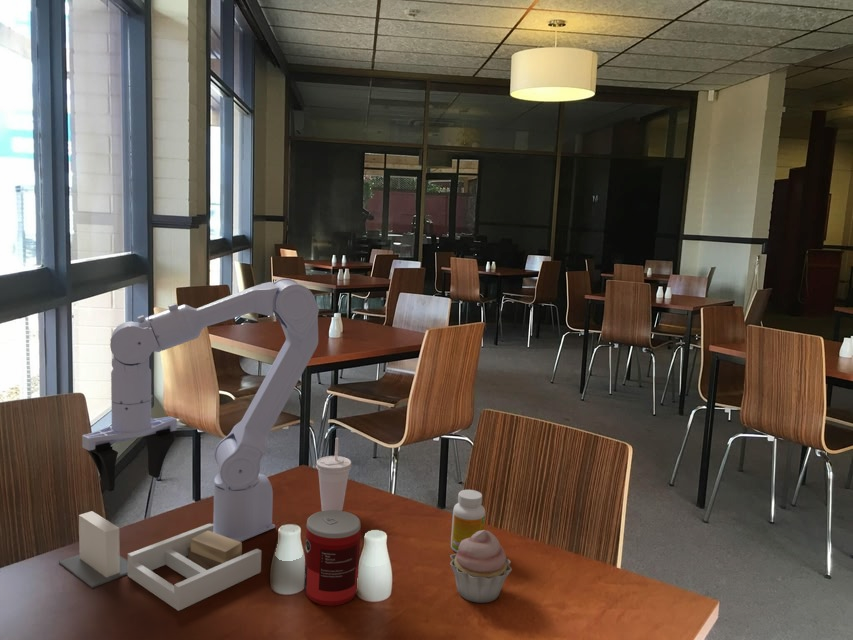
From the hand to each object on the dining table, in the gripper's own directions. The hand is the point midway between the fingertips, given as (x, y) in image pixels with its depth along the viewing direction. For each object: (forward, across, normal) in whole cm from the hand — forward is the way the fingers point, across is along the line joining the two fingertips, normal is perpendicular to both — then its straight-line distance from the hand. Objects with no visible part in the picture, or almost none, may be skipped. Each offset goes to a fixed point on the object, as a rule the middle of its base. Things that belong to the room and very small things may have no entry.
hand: (132, 482), depth 108 cm
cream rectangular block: (+10, +7, +3) cm, 13 cm away
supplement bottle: (+11, -37, +40) cm, 56 cm away
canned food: (+11, -12, +33) cm, 37 cm away
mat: (+10, +7, +3) cm, 13 cm away
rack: (+10, -2, +15) cm, 18 cm away
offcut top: (+8, -5, +15) cm, 18 cm away
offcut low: (+11, -5, +15) cm, 19 cm away
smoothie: (+11, -31, +14) cm, 36 cm away
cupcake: (+11, -27, +49) cm, 57 cm away
